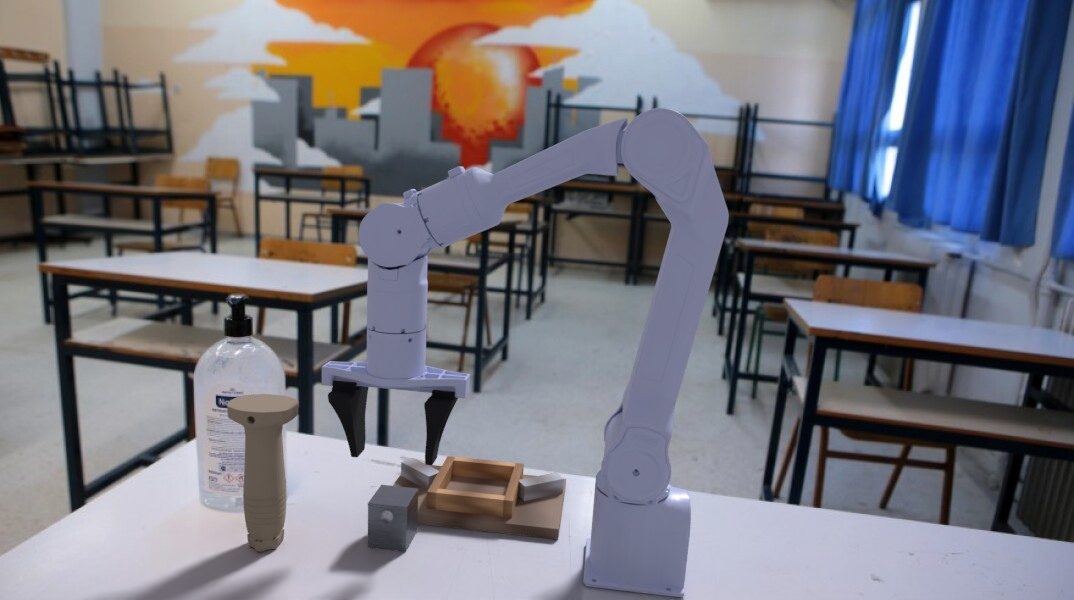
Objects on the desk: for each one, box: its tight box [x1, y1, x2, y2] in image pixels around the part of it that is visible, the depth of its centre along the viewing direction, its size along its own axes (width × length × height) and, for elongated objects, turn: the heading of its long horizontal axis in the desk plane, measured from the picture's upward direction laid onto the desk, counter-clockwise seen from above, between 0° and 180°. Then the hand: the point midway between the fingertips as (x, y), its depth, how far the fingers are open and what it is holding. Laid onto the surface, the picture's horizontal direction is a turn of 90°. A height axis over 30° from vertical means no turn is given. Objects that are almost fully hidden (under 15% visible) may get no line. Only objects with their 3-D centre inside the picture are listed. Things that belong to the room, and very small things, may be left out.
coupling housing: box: [392, 455, 567, 540], centre depth 79 cm, size 20×12×3 cm, turn 84°
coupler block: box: [367, 484, 418, 553], centre depth 70 cm, size 4×5×5 cm
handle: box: [226, 393, 299, 553], centre depth 67 cm, size 5×6×15 cm
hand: (394, 457), depth 69 cm, fingers open, 7 cm apart
